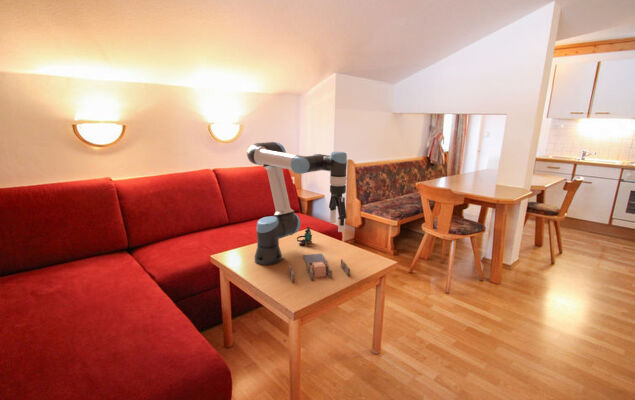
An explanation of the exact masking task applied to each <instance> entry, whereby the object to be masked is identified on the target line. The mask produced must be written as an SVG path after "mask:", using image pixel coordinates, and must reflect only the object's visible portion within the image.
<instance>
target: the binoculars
mask: <svg viewBox="0 0 635 400" xmlns="http://www.w3.org/2000/svg"><path fill="white" fill-rule="evenodd" d="M304 232H305V233H304V235H300V236H297V237H296V241H297V243H298V242H299V244H298V245H299V246H306V247H311V245H312V244H313V241H312V239H313V234H312V231H311V227H310V226H307V227H306V229H305V230H304ZM300 238H303V239H302V240H300Z"/></svg>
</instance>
